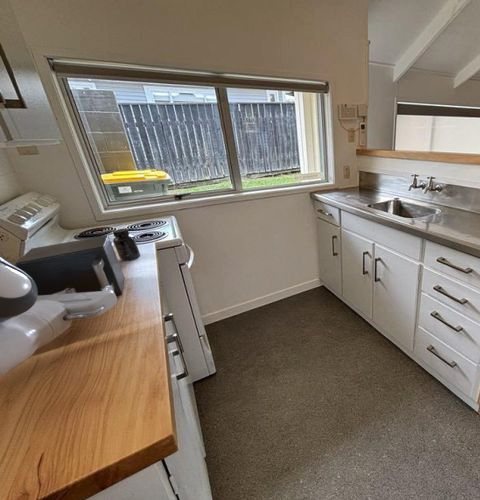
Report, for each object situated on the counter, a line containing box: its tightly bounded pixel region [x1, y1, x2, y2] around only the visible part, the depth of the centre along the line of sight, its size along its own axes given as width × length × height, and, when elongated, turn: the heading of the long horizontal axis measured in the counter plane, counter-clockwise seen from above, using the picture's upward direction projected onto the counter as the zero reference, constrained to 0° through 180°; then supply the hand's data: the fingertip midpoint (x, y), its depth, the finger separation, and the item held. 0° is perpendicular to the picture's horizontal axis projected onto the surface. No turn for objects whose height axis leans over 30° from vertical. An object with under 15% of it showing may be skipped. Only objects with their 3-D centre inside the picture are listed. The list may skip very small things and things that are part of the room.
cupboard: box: [15, 234, 126, 294], centre depth 86 cm, size 13×18×16 cm
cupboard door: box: [14, 247, 123, 297], centre depth 78 cm, size 7×18×16 cm, turn 124°
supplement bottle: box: [112, 228, 141, 262], centre depth 113 cm, size 7×7×12 cm
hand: (91, 289), depth 75 cm, fingers open, 8 cm apart
